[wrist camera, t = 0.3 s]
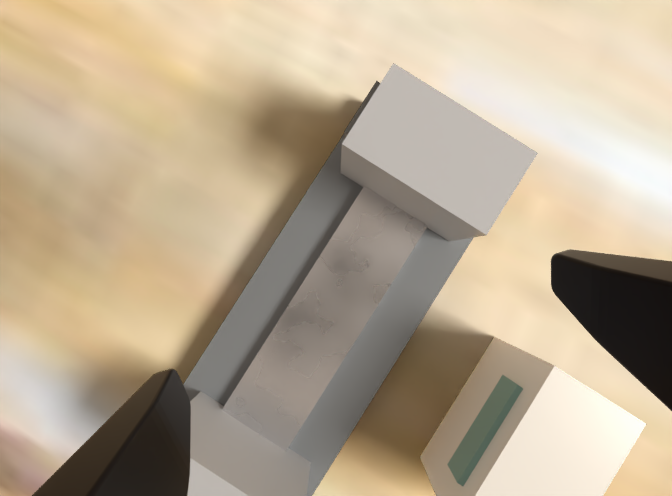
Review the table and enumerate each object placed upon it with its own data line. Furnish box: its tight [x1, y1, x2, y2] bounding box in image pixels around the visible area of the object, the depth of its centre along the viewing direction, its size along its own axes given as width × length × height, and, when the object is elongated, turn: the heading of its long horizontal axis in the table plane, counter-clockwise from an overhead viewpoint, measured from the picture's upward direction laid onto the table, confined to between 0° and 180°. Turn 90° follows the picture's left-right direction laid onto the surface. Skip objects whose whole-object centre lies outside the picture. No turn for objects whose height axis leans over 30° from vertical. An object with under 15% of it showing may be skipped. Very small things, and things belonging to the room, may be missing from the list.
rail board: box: [183, 63, 537, 496], centre depth 20 cm, size 9×23×7 cm, turn 148°
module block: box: [420, 337, 646, 496], centre depth 20 cm, size 5×8×6 cm, turn 147°
